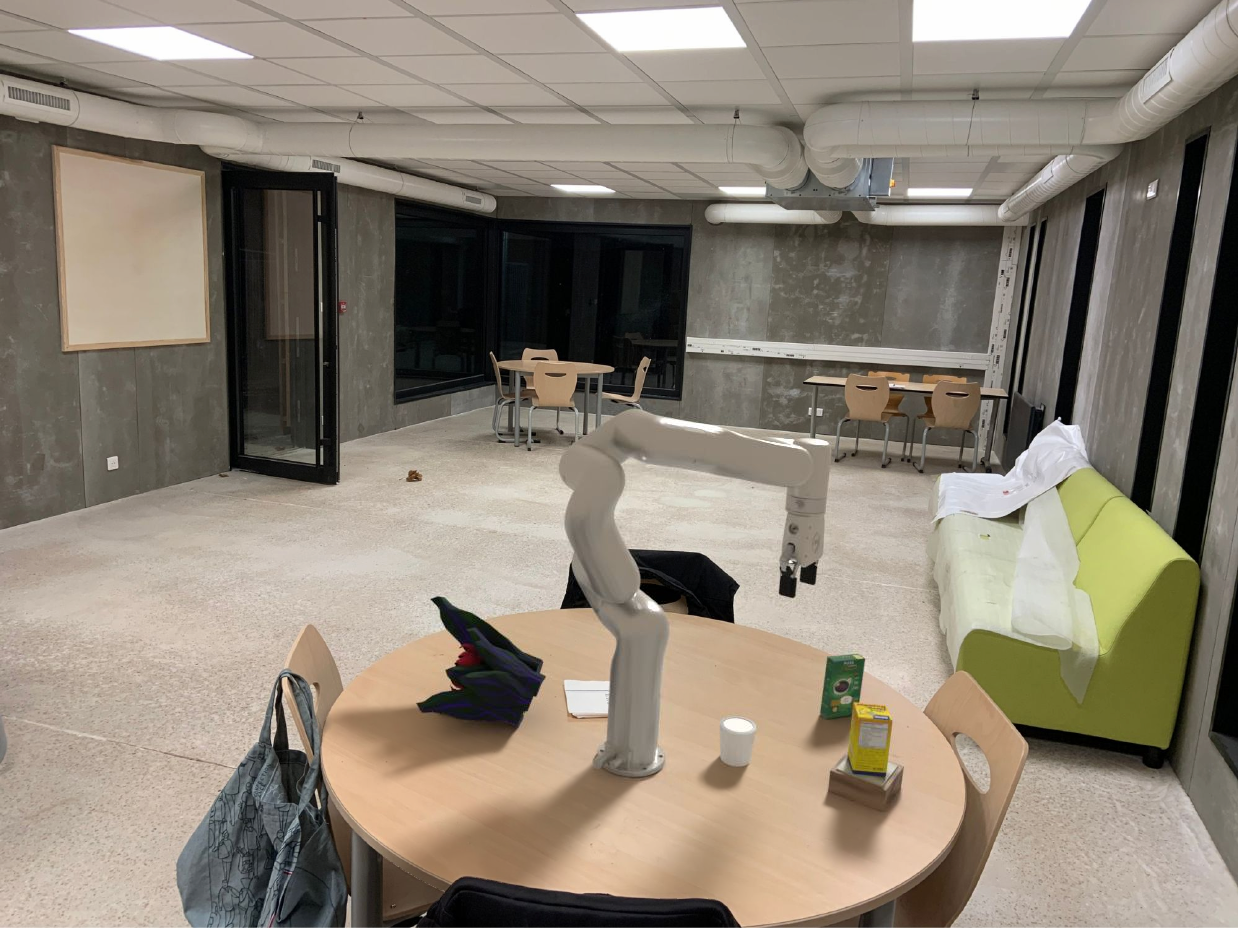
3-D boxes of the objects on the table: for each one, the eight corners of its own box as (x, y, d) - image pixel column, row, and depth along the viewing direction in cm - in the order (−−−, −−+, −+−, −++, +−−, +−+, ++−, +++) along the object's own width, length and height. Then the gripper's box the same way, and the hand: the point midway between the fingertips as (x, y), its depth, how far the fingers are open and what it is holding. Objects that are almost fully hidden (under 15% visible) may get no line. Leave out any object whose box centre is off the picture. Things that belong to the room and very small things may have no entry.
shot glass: (725, 770, 162) (728, 735, 161) (711, 750, 169) (714, 717, 167) (759, 766, 164) (762, 731, 163) (744, 747, 170) (747, 714, 169)
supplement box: (879, 759, 160) (886, 704, 158) (886, 777, 154) (893, 720, 152) (846, 756, 161) (852, 701, 158) (851, 774, 155) (858, 717, 153)
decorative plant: (506, 778, 172) (367, 720, 176) (552, 680, 193) (428, 629, 196) (521, 716, 160) (371, 655, 163) (569, 618, 180) (435, 565, 183)
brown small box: (883, 811, 152) (886, 789, 151) (827, 790, 157) (830, 768, 156) (901, 786, 160) (904, 764, 159) (848, 767, 165) (850, 746, 164)
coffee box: (851, 709, 188) (858, 651, 186) (859, 715, 186) (866, 657, 183) (819, 713, 186) (825, 655, 183) (826, 720, 183) (833, 661, 180)
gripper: (806, 516, 158) (797, 606, 161) (841, 499, 172) (832, 583, 175) (767, 508, 162) (760, 596, 166) (805, 492, 176) (797, 574, 180)
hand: (797, 589), depth 171 cm, fingers open, 9 cm apart
